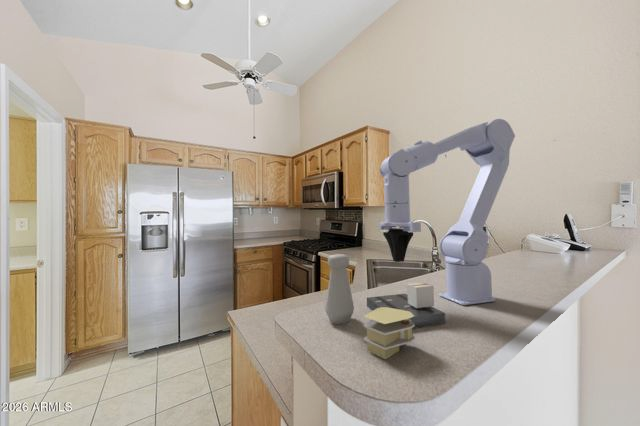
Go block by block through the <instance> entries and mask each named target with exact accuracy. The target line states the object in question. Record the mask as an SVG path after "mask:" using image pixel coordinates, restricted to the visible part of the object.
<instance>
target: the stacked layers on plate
mask: <svg viewBox="0 0 640 426" xmlns="http://www.w3.org/2000/svg"><path fill="white" fill-rule="evenodd" d="M413 316H414V315H413V314H412V313H411V312H409V311H405V310H399V309H394V308H388V307H380V308H377V309H375V310H373V311H372V310H371V311H370V312H368V313H366V314H365V315H363V317H364V318H366V319H370V320H369V321H367V322H366V323H363V327H364V328H366V336H365V337H364V338H363V341H364V342H366V344H367V345H366V346H367V347H366V348H367V349H366V351H367V352H369V353H371V354H374V355H375V356H378V357H380V358H382V359H384V360H387V359H388V358H390V357H392V356H393V355H395V354H396V353H398V352H399V351H400V347H401V346H403V345H406V344H411V343H412V342H414V341H415V340H416V337H415V336H414V334H413V328H412V327H414V326H415V324H414V323H413V322H412V321H411V320H409V318H411V317H413Z"/></svg>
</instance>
